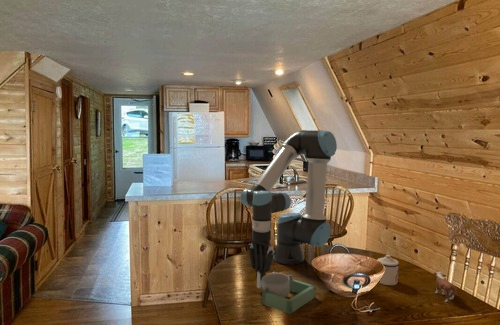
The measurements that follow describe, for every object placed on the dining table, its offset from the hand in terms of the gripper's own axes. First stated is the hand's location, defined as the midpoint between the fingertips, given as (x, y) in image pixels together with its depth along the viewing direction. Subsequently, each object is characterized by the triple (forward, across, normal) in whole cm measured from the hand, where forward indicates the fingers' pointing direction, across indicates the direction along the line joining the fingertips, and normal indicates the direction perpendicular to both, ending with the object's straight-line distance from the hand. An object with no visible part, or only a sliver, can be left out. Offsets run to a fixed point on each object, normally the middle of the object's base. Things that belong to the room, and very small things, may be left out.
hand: (260, 286), depth 156 cm
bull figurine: (+1, +58, +44) cm, 73 cm away
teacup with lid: (+1, +35, +45) cm, 57 cm away
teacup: (+2, +8, 0) cm, 8 cm away
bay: (+2, +14, 0) cm, 14 cm away
